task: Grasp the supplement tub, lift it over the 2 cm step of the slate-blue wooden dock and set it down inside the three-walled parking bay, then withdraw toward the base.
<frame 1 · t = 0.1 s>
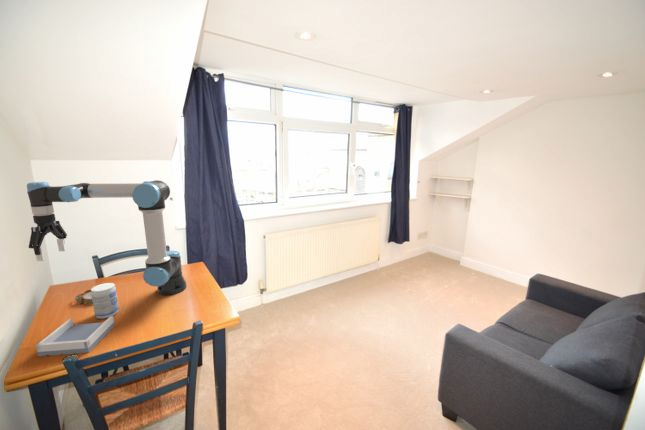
hand: (52, 255, 140), 28 cm above the table, fingers open, 13 cm apart
supplement tub: (107, 314, 139), on the table
dock: (79, 339, 120), on the table
alarm clock: (93, 300, 152), on the table
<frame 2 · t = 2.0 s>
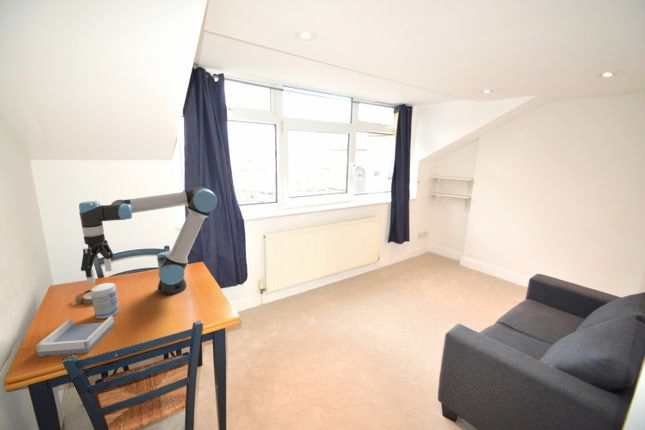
hand: (100, 276, 135), 20 cm above the table, fingers open, 13 cm apart
nothing on the table moved.
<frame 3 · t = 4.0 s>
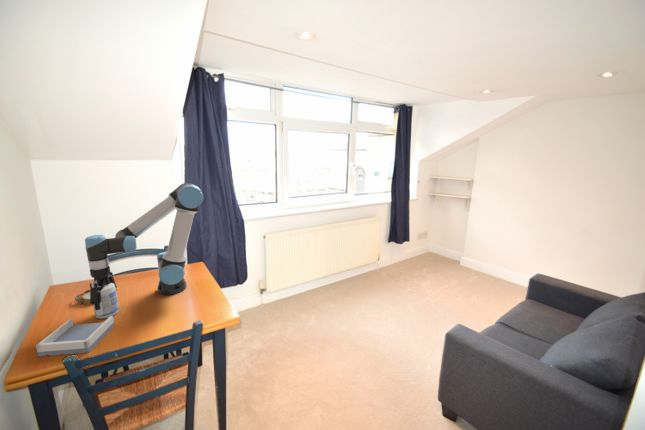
hand: (106, 309, 139), 3 cm above the table, fingers closed on supplement tub, 10 cm apart
supplement tub: (107, 314, 139), on the table, touching gripper
everything else where it was.
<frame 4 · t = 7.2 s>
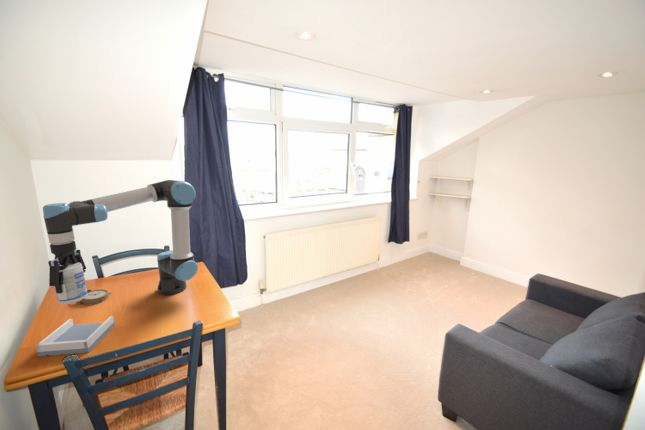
hand: (72, 293, 116), 21 cm above the table, fingers closed on supplement tub, 10 cm apart
supplement tub: (73, 299, 117), point 18 cm above the table, touching gripper
everything else where it was.
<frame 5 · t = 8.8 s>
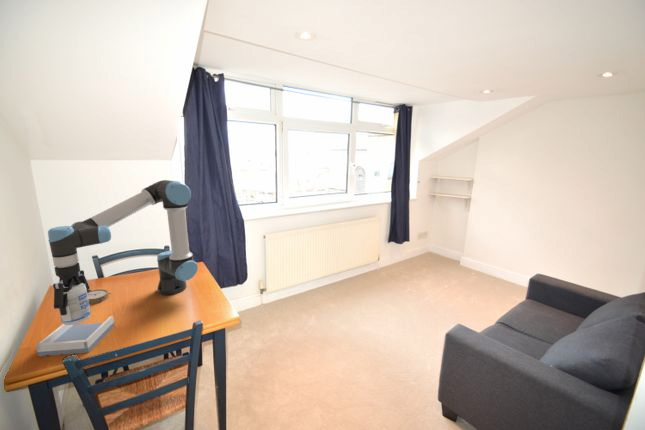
hand: (76, 313, 118), 12 cm above the table, fingers closed on supplement tub, 10 cm apart
supplement tub: (77, 319, 119), point 9 cm above the table, touching gripper
everything else where it was.
when the fingers open (6 cm above the table, at t = 10.5 s): supplement tub drops 1 cm, resting on dock.
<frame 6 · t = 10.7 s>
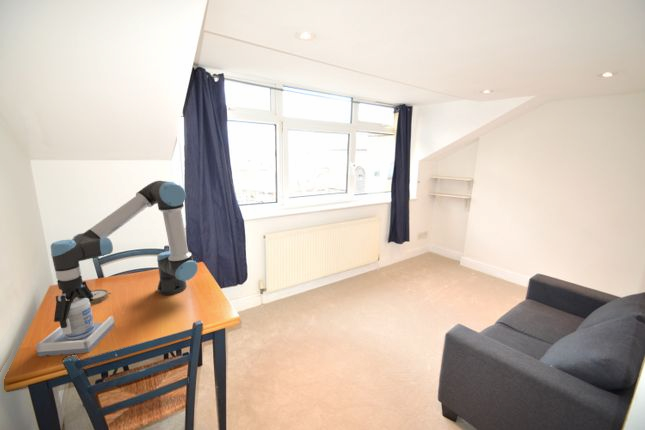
hand: (78, 324, 119), 7 cm above the table, fingers open, 12 cm apart
supplement tub: (81, 334, 121), point 2 cm above the table, touching dock
everything else where it was.
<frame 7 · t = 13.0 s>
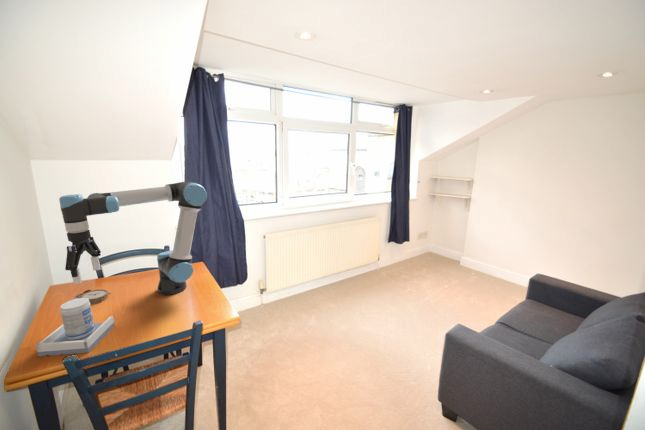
hand: (88, 276, 125), 25 cm above the table, fingers open, 13 cm apart
nothing on the table moved.
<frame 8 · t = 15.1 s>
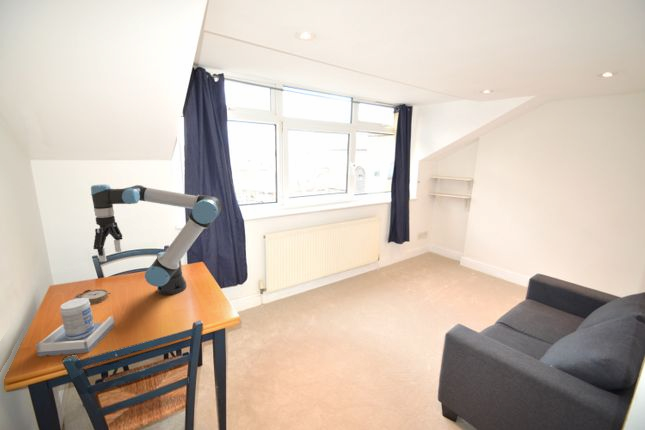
hand: (111, 256, 143), 27 cm above the table, fingers open, 13 cm apart
nothing on the table moved.
at the end: supplement tub inside the target area on the dock (0.6 cm from its centre), point 1.8 cm above the dock's base; supplement tub tilted 0°; the gripper is holding nothing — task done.
